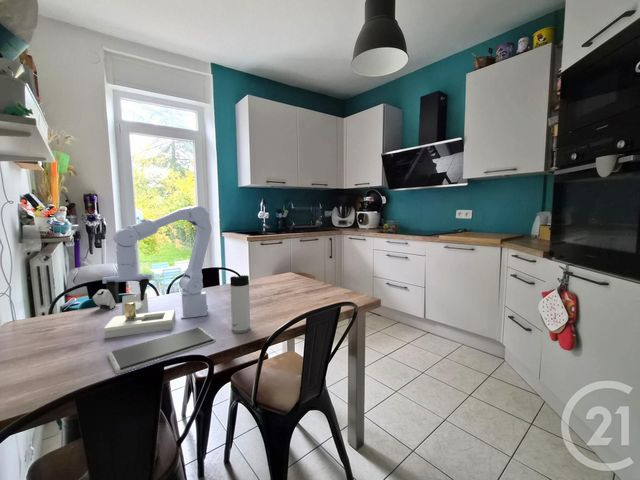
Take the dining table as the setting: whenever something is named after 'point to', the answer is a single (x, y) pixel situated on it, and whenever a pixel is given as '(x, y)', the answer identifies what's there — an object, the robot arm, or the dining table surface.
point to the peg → (130, 311)
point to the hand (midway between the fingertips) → (129, 301)
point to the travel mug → (240, 304)
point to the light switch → (136, 303)
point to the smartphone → (158, 349)
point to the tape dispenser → (104, 299)
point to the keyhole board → (140, 324)
